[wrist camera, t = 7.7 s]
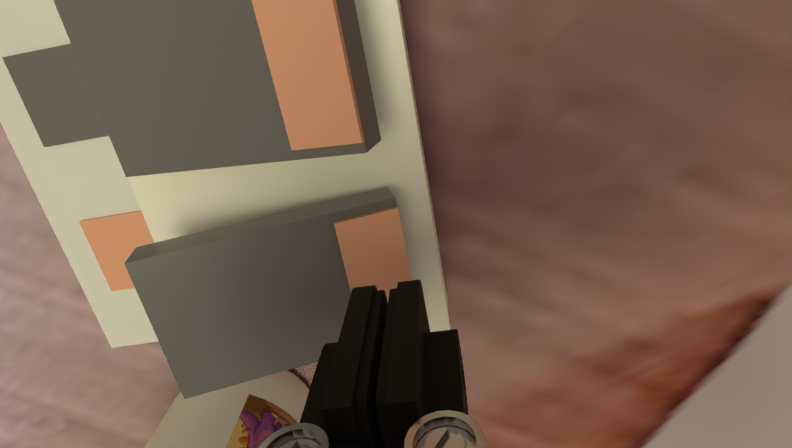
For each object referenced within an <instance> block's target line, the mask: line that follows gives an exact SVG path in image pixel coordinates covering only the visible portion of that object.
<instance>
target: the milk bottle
mask: <svg viewBox="0 0 792 448" xmlns="http://www.w3.org/2000/svg"><path fill="white" fill-rule="evenodd" d="M308 393H309V389H308V388H307V386H306V385H305V383H304V382H303V381H302V380H300V379H299V378H298V377H297V376H296V375H295V374H294V373H292V372H290V371H288V370H286V371H282V372H279V373H275V374H272V375H268V376H265V377H261V378H258V379H254V380H251V381H247V382H244V383H240V384H237V385H233V386H230V387H226V388H223V389H219V390H216V391H212V392H208V393H205V394H201V395H198V396H194V397H191V398H187V399H184V397H183V395H182V392H181V391H180V392H179V394H178V395H177V397H176V398H175V400H174V401H173V403H172V405H171V406H170V408H169V409H168V411H167V413H166V414H165V416H164V417H163V419H162V421H161V422H160V424H159V425H158V427H157V429H156V430H155V432H154V433H153V435H152V437H151V438H150V440H149V442H148V443H147V445H146V446H145V448H259V447H260V445H261V444H262V443H263V441H265V440H266V439H267V438H268V437H269V436H270V435H271V434H273V433H274V432H276V431H278V430H279V429H281V428H283V427H286V426H289V425H292V424H297V423H299V422H300V419H301V416H302V412H303V409H304V406H305V403H306V400H307V396H308Z"/></svg>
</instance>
